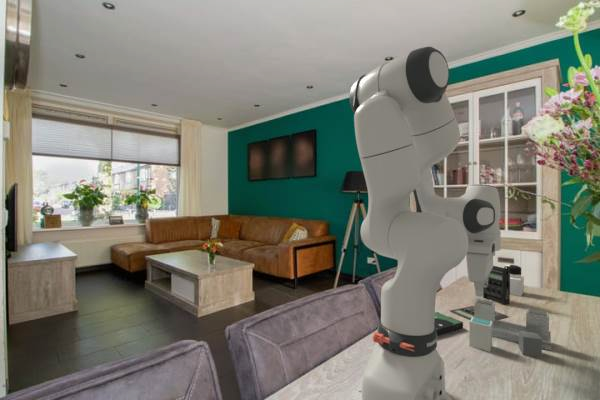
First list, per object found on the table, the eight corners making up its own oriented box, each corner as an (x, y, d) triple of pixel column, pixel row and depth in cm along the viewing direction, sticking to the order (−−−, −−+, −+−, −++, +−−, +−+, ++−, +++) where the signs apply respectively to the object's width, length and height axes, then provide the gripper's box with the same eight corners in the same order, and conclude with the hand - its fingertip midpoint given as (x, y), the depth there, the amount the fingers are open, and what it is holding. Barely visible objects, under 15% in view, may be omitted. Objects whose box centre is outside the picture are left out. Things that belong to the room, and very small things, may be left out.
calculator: (508, 315, 105) (479, 322, 99) (508, 318, 105) (479, 325, 99) (477, 304, 116) (449, 310, 110) (477, 306, 116) (449, 312, 110)
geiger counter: (478, 297, 125) (479, 261, 125) (486, 296, 127) (486, 260, 127) (503, 306, 115) (504, 267, 115) (511, 304, 117) (512, 266, 117)
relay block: (541, 358, 78) (541, 339, 78) (523, 355, 80) (523, 336, 80) (536, 351, 82) (536, 333, 82) (518, 348, 83) (519, 330, 83)
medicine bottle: (523, 292, 131) (524, 265, 131) (521, 296, 126) (521, 268, 126) (504, 289, 136) (504, 263, 136) (501, 292, 131) (501, 265, 131)
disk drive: (431, 340, 89) (463, 330, 95) (431, 331, 89) (463, 321, 95) (404, 327, 98) (436, 318, 105) (404, 318, 98) (436, 310, 105)
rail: (550, 350, 82) (551, 317, 82) (472, 331, 94) (472, 302, 94) (550, 342, 87) (550, 310, 86) (475, 324, 98) (475, 297, 98)
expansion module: (490, 351, 81) (490, 325, 81) (469, 346, 85) (469, 320, 84) (491, 346, 85) (492, 320, 84) (471, 340, 88) (472, 316, 88)
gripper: (475, 236, 94) (475, 280, 95) (462, 246, 78) (462, 298, 79) (498, 238, 90) (498, 283, 91) (490, 249, 74) (490, 304, 75)
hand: (481, 290), depth 85 cm, fingers open, 8 cm apart
